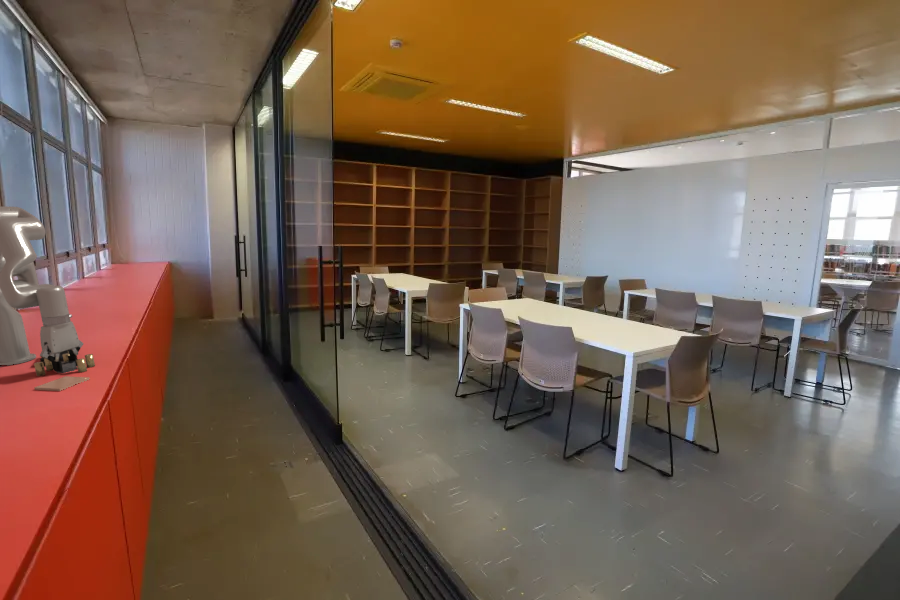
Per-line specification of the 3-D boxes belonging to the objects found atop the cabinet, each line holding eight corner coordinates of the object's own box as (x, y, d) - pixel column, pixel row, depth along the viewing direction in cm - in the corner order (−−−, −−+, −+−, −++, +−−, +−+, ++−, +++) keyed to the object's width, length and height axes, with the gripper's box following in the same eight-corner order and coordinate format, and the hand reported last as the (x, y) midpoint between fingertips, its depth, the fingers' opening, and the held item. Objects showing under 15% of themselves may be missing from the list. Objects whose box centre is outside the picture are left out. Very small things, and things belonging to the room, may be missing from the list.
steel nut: (53, 372, 160) (51, 364, 160) (67, 368, 165) (65, 360, 165) (66, 373, 159) (64, 365, 159) (80, 368, 164) (78, 360, 164)
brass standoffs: (30, 375, 158) (27, 363, 157) (65, 364, 170) (62, 352, 169) (68, 377, 155) (66, 365, 154) (101, 365, 167) (99, 354, 166)
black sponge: (69, 363, 172) (68, 354, 171) (40, 368, 167) (38, 358, 166) (72, 353, 185) (70, 344, 184) (45, 357, 180) (43, 349, 179)
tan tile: (34, 389, 145) (34, 387, 144) (65, 378, 154) (65, 376, 154) (60, 391, 143) (59, 388, 143) (89, 379, 153) (89, 377, 152)
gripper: (71, 314, 168) (80, 360, 171) (21, 326, 151) (33, 376, 155) (88, 315, 166) (97, 361, 170) (39, 326, 150) (50, 377, 153)
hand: (66, 368), depth 162 cm, fingers closed on steel nut, 5 cm apart
